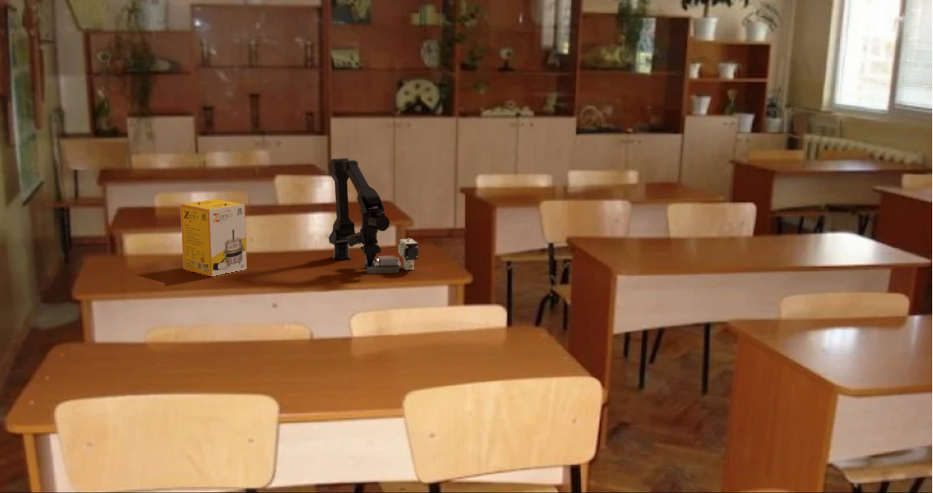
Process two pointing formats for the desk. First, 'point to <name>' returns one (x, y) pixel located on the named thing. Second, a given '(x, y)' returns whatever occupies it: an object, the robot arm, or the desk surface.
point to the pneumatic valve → (408, 252)
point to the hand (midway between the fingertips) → (369, 266)
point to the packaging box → (213, 236)
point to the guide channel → (380, 269)
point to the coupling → (387, 261)
